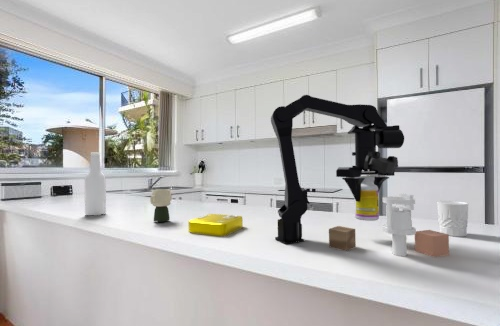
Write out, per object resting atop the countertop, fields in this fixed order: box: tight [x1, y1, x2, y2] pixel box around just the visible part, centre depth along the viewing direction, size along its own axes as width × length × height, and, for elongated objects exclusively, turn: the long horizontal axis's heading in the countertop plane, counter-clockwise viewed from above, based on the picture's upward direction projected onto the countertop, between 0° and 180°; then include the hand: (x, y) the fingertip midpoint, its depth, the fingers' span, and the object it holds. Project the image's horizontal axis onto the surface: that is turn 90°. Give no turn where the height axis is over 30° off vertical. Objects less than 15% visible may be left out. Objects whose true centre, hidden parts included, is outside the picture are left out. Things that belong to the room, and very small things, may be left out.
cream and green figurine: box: [149, 188, 173, 223], centre depth 108 cm, size 11×7×13 cm, turn 152°
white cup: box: [436, 200, 469, 238], centre depth 83 cm, size 8×8×10 cm
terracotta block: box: [414, 229, 450, 258], centre depth 66 cm, size 5×5×5 cm
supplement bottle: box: [353, 175, 380, 222], centre depth 79 cm, size 7×7×13 cm
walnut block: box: [328, 225, 357, 252], centre depth 71 cm, size 5×5×5 cm
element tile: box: [188, 213, 243, 237], centre depth 94 cm, size 15×15×5 cm
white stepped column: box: [382, 193, 417, 257], centre depth 65 cm, size 7×7×15 cm
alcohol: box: [84, 151, 107, 216], centre depth 127 cm, size 9×9×30 cm
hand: (366, 200), depth 79 cm, fingers closed on supplement bottle, 7 cm apart
